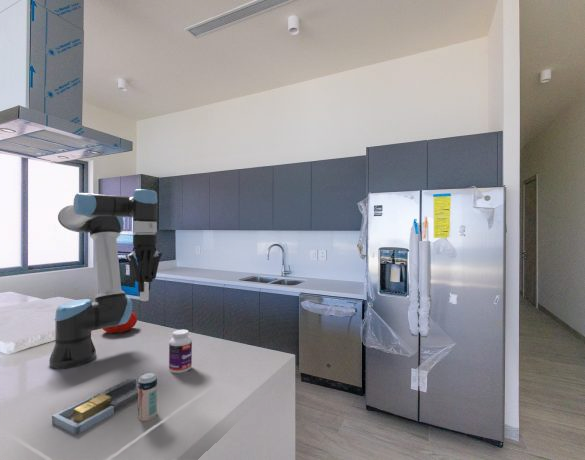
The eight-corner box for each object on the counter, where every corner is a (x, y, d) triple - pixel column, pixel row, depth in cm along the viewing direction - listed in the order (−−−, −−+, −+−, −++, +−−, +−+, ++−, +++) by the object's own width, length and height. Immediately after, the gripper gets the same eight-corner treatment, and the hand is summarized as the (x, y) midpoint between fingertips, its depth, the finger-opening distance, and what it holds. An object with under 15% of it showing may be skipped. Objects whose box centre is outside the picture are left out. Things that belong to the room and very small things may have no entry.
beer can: (142, 412, 87) (142, 371, 87) (159, 411, 87) (159, 371, 87) (135, 423, 82) (135, 379, 82) (152, 422, 83) (153, 379, 83)
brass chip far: (88, 411, 86) (88, 400, 86) (102, 403, 90) (102, 393, 90) (97, 414, 85) (97, 404, 85) (111, 407, 88) (111, 397, 88)
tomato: (96, 332, 153) (96, 312, 153) (130, 324, 165) (130, 306, 165) (106, 339, 144) (107, 318, 143) (141, 330, 156) (141, 311, 156)
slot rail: (93, 404, 91) (93, 396, 91) (132, 384, 102) (132, 377, 102) (114, 413, 86) (114, 405, 86) (152, 391, 98) (152, 384, 98)
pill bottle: (184, 376, 109) (184, 336, 109) (164, 373, 110) (164, 334, 110) (195, 366, 117) (195, 329, 116) (177, 363, 118) (177, 327, 118)
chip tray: (52, 424, 81) (52, 415, 81) (90, 405, 90) (90, 396, 90) (75, 437, 77) (76, 427, 77) (113, 415, 86) (113, 406, 86)
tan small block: (73, 419, 83) (73, 409, 83) (88, 411, 87) (88, 401, 87) (82, 424, 81) (82, 413, 81) (97, 415, 85) (97, 405, 85)
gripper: (134, 234, 98) (134, 306, 98) (167, 233, 109) (166, 297, 110) (120, 233, 101) (119, 303, 102) (153, 233, 113) (153, 295, 113)
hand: (144, 300), depth 106 cm, fingers closed
